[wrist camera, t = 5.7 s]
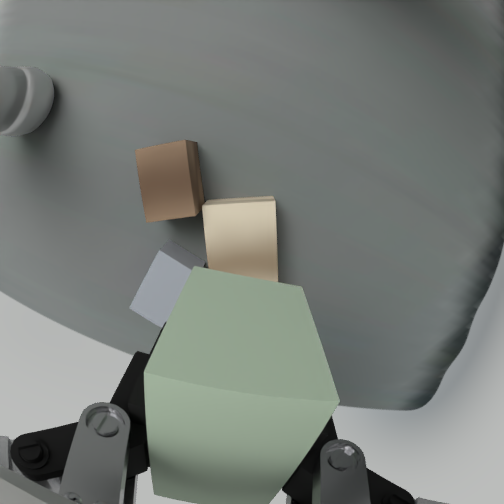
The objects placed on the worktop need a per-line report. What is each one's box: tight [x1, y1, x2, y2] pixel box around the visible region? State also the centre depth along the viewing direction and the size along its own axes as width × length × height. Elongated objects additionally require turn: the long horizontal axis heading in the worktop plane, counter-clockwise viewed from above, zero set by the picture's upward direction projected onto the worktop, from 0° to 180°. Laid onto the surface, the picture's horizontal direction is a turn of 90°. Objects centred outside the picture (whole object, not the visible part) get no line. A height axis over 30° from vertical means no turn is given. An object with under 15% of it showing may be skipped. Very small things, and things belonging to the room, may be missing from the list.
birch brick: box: [202, 196, 278, 282], centre depth 22 cm, size 8×5×3 cm, turn 3°
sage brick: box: [144, 266, 340, 504], centre depth 8 cm, size 6×4×5 cm, turn 168°
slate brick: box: [130, 239, 205, 328], centre depth 23 cm, size 6×4×3 cm, turn 146°
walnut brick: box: [135, 140, 205, 223], centre depth 20 cm, size 5×4×4 cm
